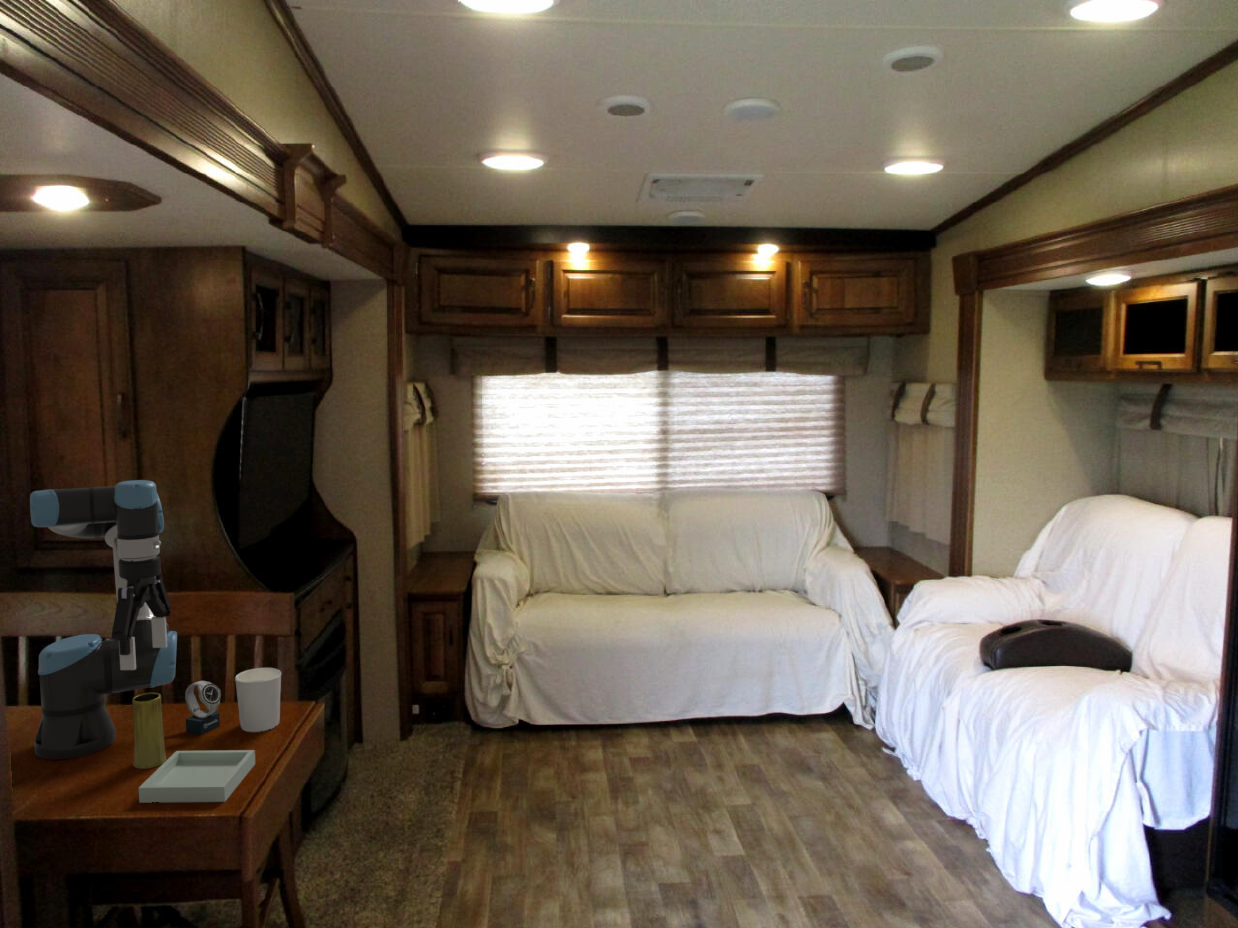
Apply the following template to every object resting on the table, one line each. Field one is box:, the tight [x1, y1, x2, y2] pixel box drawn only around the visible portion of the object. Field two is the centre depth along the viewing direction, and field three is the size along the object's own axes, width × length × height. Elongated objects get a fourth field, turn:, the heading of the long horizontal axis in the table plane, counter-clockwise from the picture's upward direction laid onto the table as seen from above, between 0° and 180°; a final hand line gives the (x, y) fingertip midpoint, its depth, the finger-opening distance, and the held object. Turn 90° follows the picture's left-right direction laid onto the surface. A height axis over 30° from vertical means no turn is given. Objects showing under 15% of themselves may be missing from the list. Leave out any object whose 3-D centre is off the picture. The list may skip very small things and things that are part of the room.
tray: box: [138, 749, 256, 804], centre depth 177 cm, size 16×16×3 cm
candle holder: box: [234, 667, 282, 733], centre depth 205 cm, size 10×10×12 cm
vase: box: [131, 692, 167, 770], centre depth 185 cm, size 6×6×14 cm
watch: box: [184, 680, 222, 736], centre depth 202 cm, size 6×8×11 cm
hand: (144, 658), depth 183 cm, fingers open, 13 cm apart
